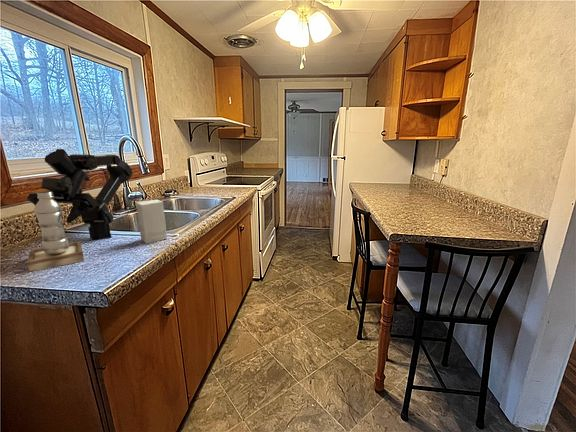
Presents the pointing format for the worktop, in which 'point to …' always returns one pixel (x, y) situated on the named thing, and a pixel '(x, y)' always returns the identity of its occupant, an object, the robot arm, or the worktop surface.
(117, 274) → the worktop surface
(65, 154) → the robot arm
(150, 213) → the skincare box
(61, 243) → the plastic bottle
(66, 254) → the stand
